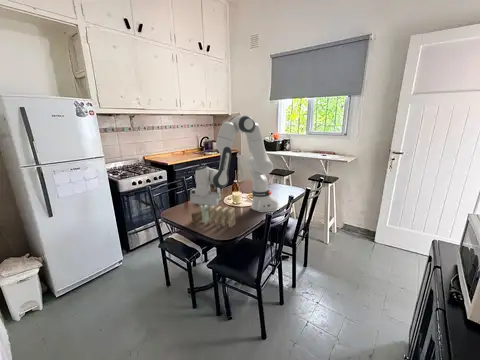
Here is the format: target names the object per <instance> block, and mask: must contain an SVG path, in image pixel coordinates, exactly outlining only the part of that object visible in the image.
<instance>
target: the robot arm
mask: <svg viewBox="0 0 480 360" xmlns="http://www.w3.org/2000/svg"><path fill="white" fill-rule="evenodd" d="M238 133H239V134H240V133H241V134H243V133H244V134H245V137H246V141H247V145H248V151H249V153H250V154H251V157H249V158H248V159H247V166H248V168H249V171H250V176H251V179H252V190H251V191H252V192H251V193H252V195H251V196H252V201H251V202H252V203H251V207H250V208H251V209H252V210H253V211H257V212H259V213H266V212H276V211H277V210H279V209H280V208H281V209H282V205H281V204H280V203H279V202H278V200H277V197H275V196H274V195H272V191H271V190H270V189H268V188H269V187H268V183H269V182H268V178H267V176H266V174H267V175H269V174H270V173H272V172H273V170H274V164H273V162H272V161H271V159H270V157H269V155H268V153H267V150H266V148H265V144H264V143H265V142H264V138H263V132H262V130H261V127H260V124H258V123H257V122H255V121H254V119H253V118H252V117H251V116H249V115H238V116H237V115H235V116H233V117H232V118H231V119H230V120H229V121H224V122H223V123H222V124H221V125H220V128H219V131H218V134H217V137H216V142H215V148H216V150H217V151H218V152H219V155H220V160H219V167H218V169H214V168H210V167H209V166H207V165H200V166H198V167H197V168H196V169H195V175H194V176H195V183H196V187H195V188H192V189H191V190H190V192H189V193H190V194H189V201H190V203H191V204H195V205H196V204H197V205H198V207H199V208H202V207H203V206H205V205H207V206H208V208H210V207H211V206H215V207H218V205H219V204H220V201H219V200H218V194H217V193H216V192H211V191H210V184H214V185H215V186H216V187H217V188H220V189H223V188H225V187H226V186H227V185H228V184H229V180H230V177H229V170H230V166H231V159H232V153H233V152H232V150H233V145H234V141H235V137H236V135H237V134H238ZM208 208H206V211H208ZM281 209H280V210H281ZM280 210H279V211H280ZM277 212H278V211H277Z"/></svg>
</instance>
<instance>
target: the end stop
mask: <svg viewBox="0 0 480 360" xmlns="http://www.w3.org/2000/svg"><path fill="white" fill-rule="evenodd" d="M201 221H202V211H201V207H199V208H198V209H197V210H195V211H193V212H192V213H191V223H192V224H193V225H197V224H198V223H200V222H201Z"/></svg>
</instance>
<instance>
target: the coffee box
mask: <svg viewBox="0 0 480 360" xmlns="http://www.w3.org/2000/svg"><path fill="white" fill-rule="evenodd" d="M210 191H211V192H216V193H217V194H218V200H219V202H220V201H221V199H222V195H221V188H217V187H216V186H215V185H214V184H210Z"/></svg>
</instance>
